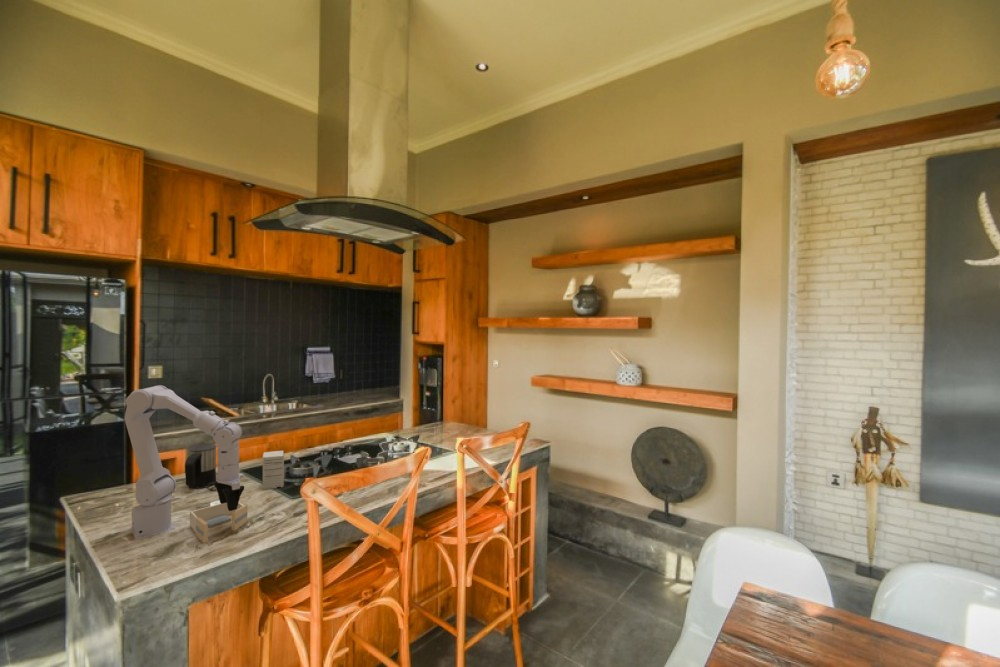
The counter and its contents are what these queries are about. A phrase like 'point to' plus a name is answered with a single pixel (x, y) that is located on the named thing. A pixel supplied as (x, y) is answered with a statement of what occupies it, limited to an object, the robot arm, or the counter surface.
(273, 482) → the supplement box
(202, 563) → the counter surface
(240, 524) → the flap right
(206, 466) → the milk frother
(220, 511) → the carton
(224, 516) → the booklet
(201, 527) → the flap left
